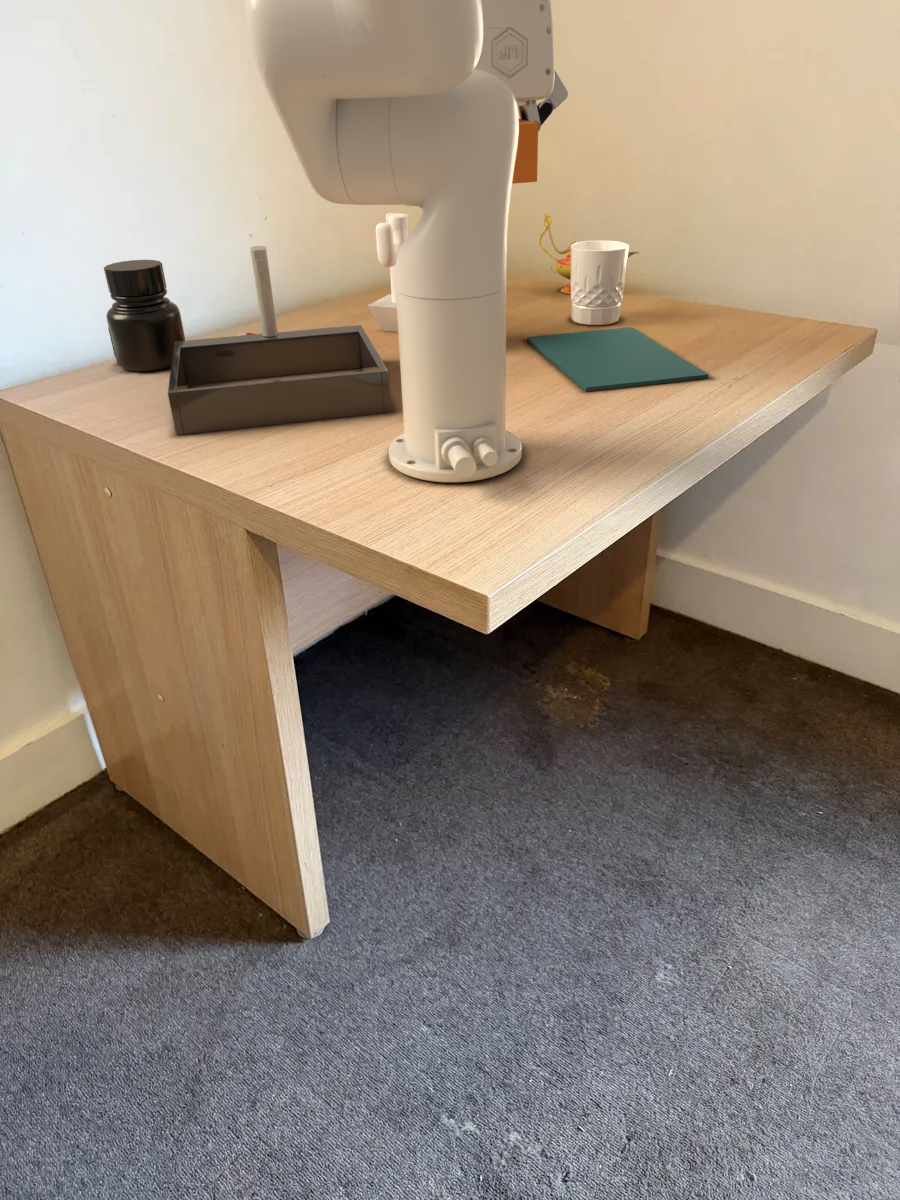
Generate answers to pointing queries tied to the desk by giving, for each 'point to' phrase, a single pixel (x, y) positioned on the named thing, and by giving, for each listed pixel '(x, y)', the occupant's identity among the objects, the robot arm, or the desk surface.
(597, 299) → the white cup
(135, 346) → the ink bottle
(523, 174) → the orange striped block
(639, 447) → the desk surface
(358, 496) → the desk surface
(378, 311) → the figurine
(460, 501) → the desk surface
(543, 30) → the robot arm
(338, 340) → the sink basin
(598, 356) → the mat
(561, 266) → the magic lamp
